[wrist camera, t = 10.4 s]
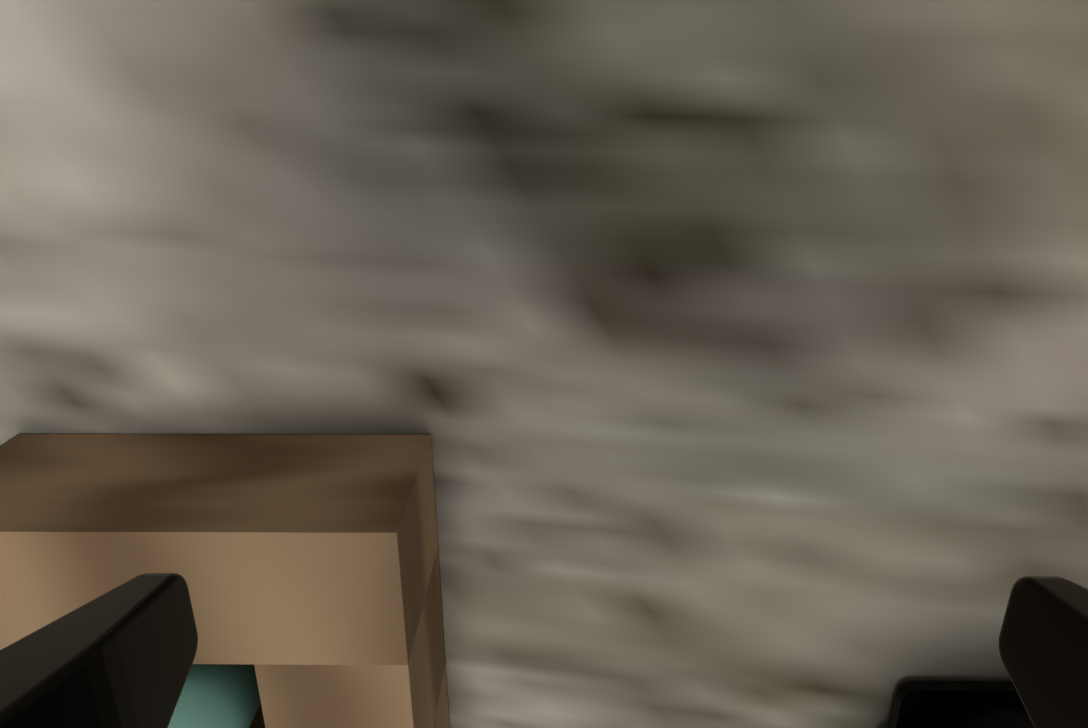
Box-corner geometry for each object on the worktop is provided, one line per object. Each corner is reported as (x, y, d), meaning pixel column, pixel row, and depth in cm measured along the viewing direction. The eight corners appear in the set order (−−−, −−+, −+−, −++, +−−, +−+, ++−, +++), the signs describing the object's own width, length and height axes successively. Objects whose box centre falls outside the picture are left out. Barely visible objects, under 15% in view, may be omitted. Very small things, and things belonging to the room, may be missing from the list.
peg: (296, 563, 23) (146, 843, 14) (307, 640, 24) (174, 944, 15) (200, 562, 23) (-6, 842, 14) (215, 640, 24) (32, 942, 15)
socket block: (430, 434, 21) (396, 532, 16) (451, 748, 25) (428, 897, 21) (18, 433, 21) (-133, 531, 17) (106, 746, 25) (5, 894, 21)
